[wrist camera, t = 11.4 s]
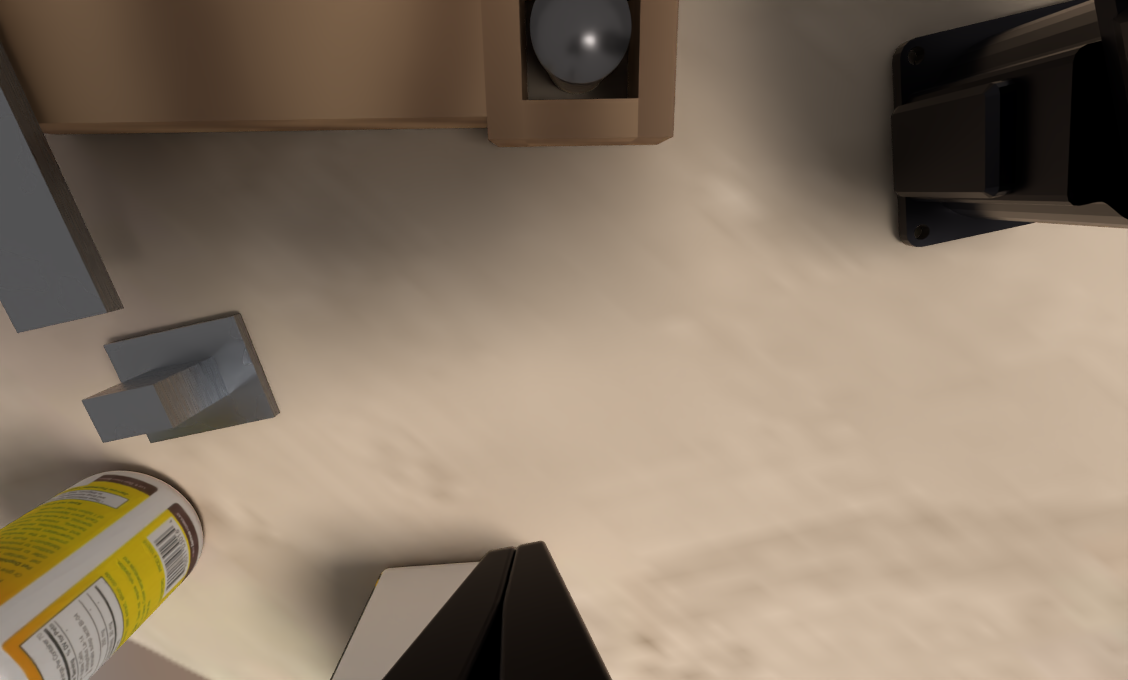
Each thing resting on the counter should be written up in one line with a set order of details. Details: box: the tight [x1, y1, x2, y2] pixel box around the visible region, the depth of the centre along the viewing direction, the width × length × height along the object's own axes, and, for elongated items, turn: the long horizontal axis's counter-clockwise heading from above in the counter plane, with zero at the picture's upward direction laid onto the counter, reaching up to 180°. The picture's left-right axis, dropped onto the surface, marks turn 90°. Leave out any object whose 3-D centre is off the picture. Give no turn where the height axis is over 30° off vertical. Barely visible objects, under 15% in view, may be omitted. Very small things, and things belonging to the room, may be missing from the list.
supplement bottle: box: [0, 471, 203, 680], centre depth 17 cm, size 6×6×10 cm
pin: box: [530, 0, 631, 94], centre depth 15 cm, size 3×3×4 cm
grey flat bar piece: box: [0, 41, 280, 443], centre depth 15 cm, size 5×21×4 cm, turn 12°
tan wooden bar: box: [0, 0, 679, 147], centre depth 15 cm, size 20×5×3 cm, turn 91°
